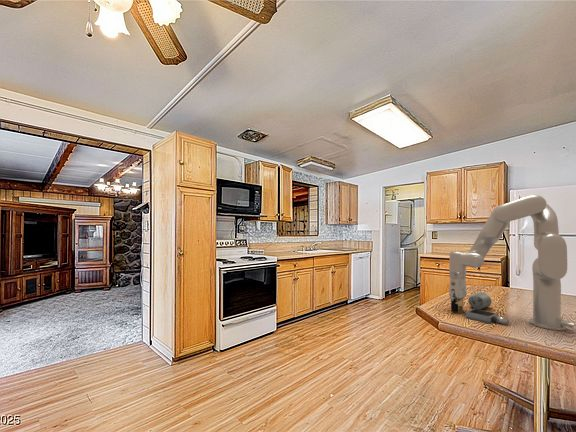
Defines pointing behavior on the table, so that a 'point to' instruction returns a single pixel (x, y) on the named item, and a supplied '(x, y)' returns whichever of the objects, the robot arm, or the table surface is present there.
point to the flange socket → (486, 316)
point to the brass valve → (459, 305)
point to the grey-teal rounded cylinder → (479, 300)
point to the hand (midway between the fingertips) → (457, 309)
